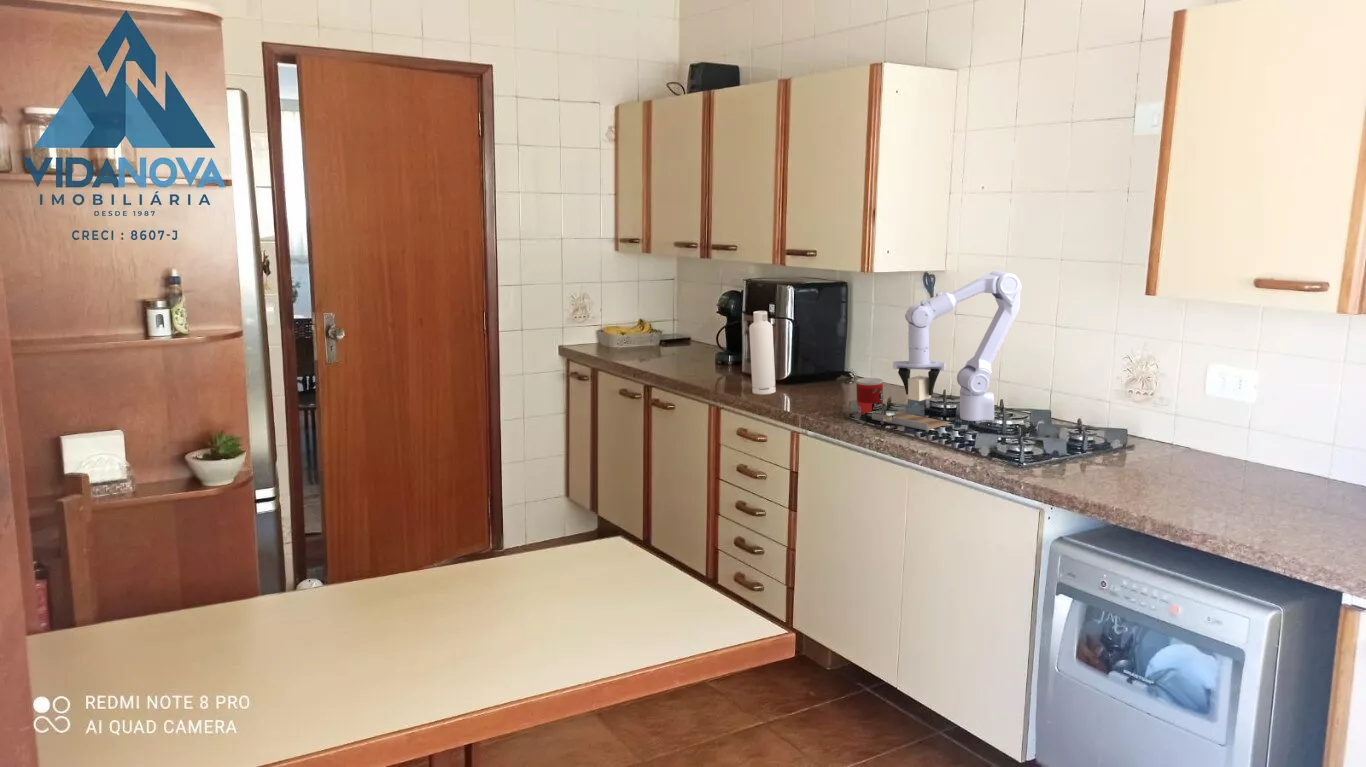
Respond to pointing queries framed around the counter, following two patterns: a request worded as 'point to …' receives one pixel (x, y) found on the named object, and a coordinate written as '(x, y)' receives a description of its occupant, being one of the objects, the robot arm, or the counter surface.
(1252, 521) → the counter surface
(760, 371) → the bottle
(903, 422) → the shelf
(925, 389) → the carton
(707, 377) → the counter surface
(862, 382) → the canned food
